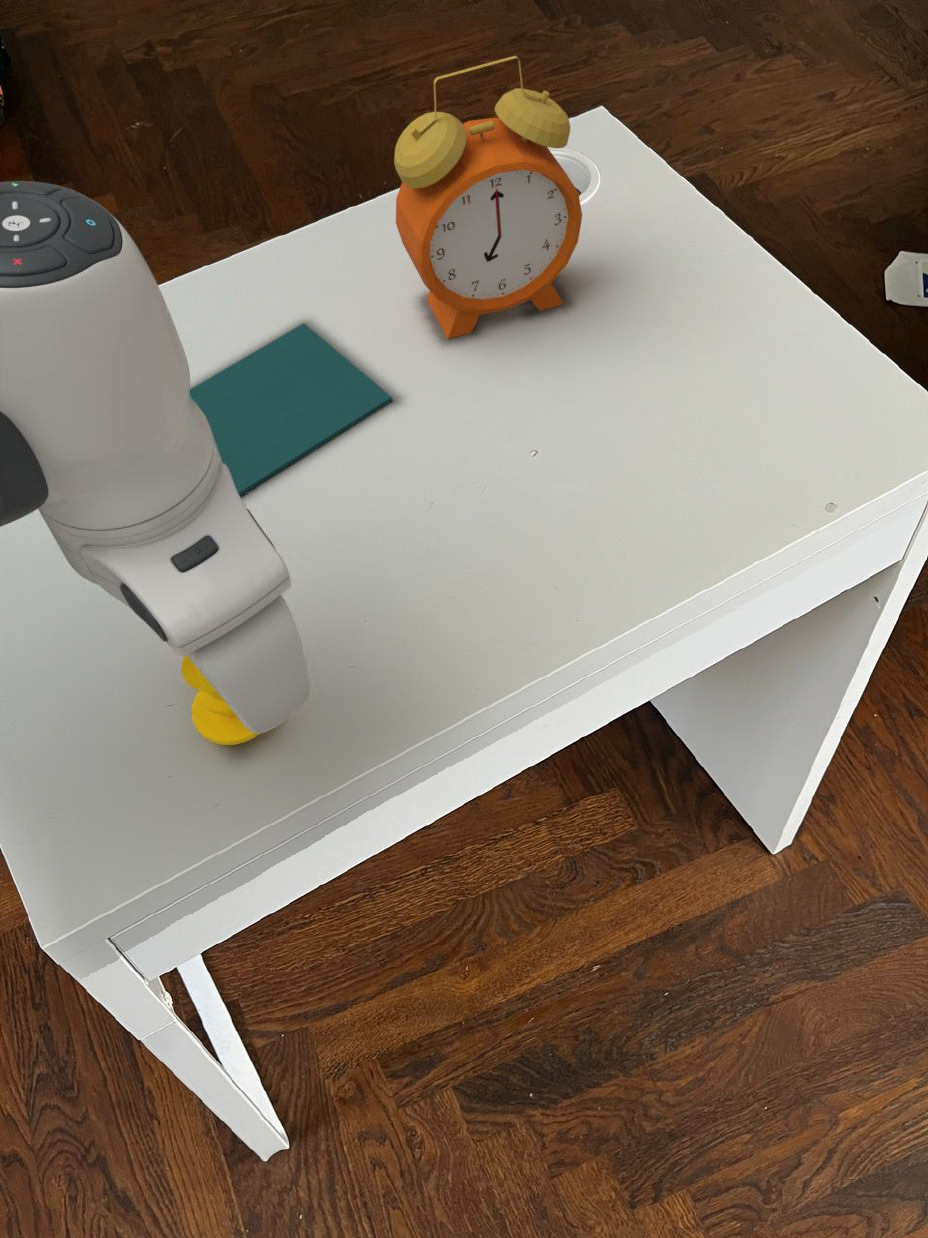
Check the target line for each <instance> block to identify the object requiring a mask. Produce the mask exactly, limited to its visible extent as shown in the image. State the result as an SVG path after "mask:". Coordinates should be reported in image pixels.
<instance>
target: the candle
mask: <svg viewBox="0 0 928 1238" xmlns="http://www.w3.org/2000/svg"><path fill="white" fill-rule="evenodd" d="M180 666H181V668H180V670H181V674H182V678H183V680H184V682H185V683H186V684H187V685H188V686H189V687H190V688H192V689H194V690H197V693H196V695H195V697H194V699H193V702H192V705H191V712H190V713H191V718H192V723H193V725H194V727H195V728H196V731H197V732H198V734H199V735H201V737H203V738H204V739H205V740H207V741H209V742H210V743H213V744H216V745H222V746H234V745H240V744H243V743H247V742H248V741H250V740H252V739H254V738H256V737H257V736H258V735H259V734H256V733H252V732H250V731H249V730H248V729H247V728H246V727H245V726H244V725H243V724H242V722H241V721H240V720H239V719H238V717H237V716H236V715H235V713H234V712H233V711H232V709H231V708H230V707H229V706H228V705H227V703H226V702H225V701H224V700H223V699H222V697H221V696H220V695H219V694H218V693H217V691H216V690H215V689H214V688H213V686H212V685H211V684H210V683H209V682H208V680H207V679H206V678H205V677H204V676H203V674H202V673H201V672H200V671H199V670H198V668H197V667H196V666H195V665H194V664H193V662H192V661H191V660H190V659H189V658H188V656H187V655H185V656H183V659H182V661H181V665H180Z"/></svg>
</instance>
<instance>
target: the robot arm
mask: <svg viewBox="0 0 928 1238" xmlns="http://www.w3.org/2000/svg"><path fill="white" fill-rule="evenodd" d="M182 343H183V342H182V341H181V338H180V335H179V333H178V330H177V328H176V325H175V323H174V319H173V317H172V314H171V313H170V309H169V308H168V305H167V302H166V300H165V298H164V295H163V293H162V291H161V289H160V287H159V285H158V283H157V280H156V278H155V276H154V274H153V272H152V270H151V269H150V266H149V265H148V263H147V261H146V260H145V258H144V256H143V254H142V252H141V251H140V249H139V247H138V246H137V244H136V243H135V241H134V239H133V238H132V236H131V235H130V234H129V233H128V231H127V230H126V229H125V227H124V226H123V224H122V223H121V222H120V221H119V220H118V219H117V218H116V217H115V216H114V215H113V214H112V213H111V212H110V211H108V210H107V209H106V208H105V207H103V205H101V204H100V203H98V202H97V201H95V200H93V199H92V198H90V197H88V196H87V195H84V194H82V193H81V192H79V191H76V190H74V189H71V188H69V187H66V186H61V185H58V184H54V183H49V182H43V181H30V180H12V181H11V180H10V181H0V528H1V527H4V526H6V525H8V524H11V523H14V522H15V521H18V520H21V519H22V518H24V517H26V516H28V515H30V514H31V513H34V512H36V511H37V510H38V512H39V513H40V515H41V517H42V518H43V520H44V522H45V524H46V526H47V527H48V530H49V531H50V533H51V534H52V536H53V538H54V541H55V542H56V543H57V545H58V547H59V549H60V551H61V553H62V555H63V556H64V558H65V560H66V561H67V564H68V565H69V566H70V567H71V568H72V569H73V570H74V571H75V572H76V574H78V575H79V576H80V577H82V578H83V579H85V581H88V582H91V583H92V584H93V585H96V586H99V587H100V588H101V589H102V590H104V591H105V592H106V593H108V594H109V595H110V596H111V597H113V598H114V599H116V600H117V601H119V602H121V603H122V604H123V605H125V606H127V607H128V608H129V609H130V610H131V611H133V612H134V614H135V615H136V616H138V618H140V619H141V620H142V621H143V622H144V623H145V624H146V625H147V626H149V628H151V630H152V631H153V632H154V633H155V634H156V635H157V636H158V637H159V639H160V640H162V641H163V642H164V643H166V644H167V645H168V646H169V647H170V648H171V650H172V651H173V652H174V653H175V654H177V655H178V656H181V657H184V656H185V655H187V656H188V658H189V659H190V660H191V661H192V662H193V664H194V665H195V666H196V667H197V668H198V670H199V671H200V672H201V673H202V674H203V676H204V677H205V678H206V679H207V680H208V682H209V683H210V684H211V685H212V686H213V688H214V689H215V690H216V691H217V693H218V694H219V695H220V696H221V697H222V699H223V700H224V701H225V702H226V703H227V705H228V706H229V707H230V708H231V709H232V711H233V712H234V713H235V715H236V716H237V717H238V719H239V720H240V721H241V722H242V724H243V725H244V726H245V727H246V728H247V729H248V730H249V731H250V732H252V733H256V734H258V735H260V734H264V733H267V732H270V730H271V731H272V729H274V728H276V727H279V725H281V724H282V723H284V722H285V721H287V720H288V719H290V718H291V717H292V716H294V715H295V714H296V713H298V712H299V711H300V710H301V709H302V708H303V707H304V706H305V705H307V703H308V702H309V701H310V699H311V698H312V697H311V696H312V692H313V690H312V689H313V687H312V681H311V675H310V671H309V667H308V662H307V659H306V655H305V651H304V647H303V643H302V640H301V636H300V633H299V630H298V627H297V624H296V622H295V619H294V616H293V614H292V612H291V609H290V608H289V605H288V603H287V602H286V600H285V598H284V596H283V593H285V592H286V591H288V590H289V588H291V585H292V580H291V576H290V572H289V569H288V567H287V564H286V562H285V560H284V559H283V557H282V555H280V553H279V552H278V551H277V548H276V547H275V545H274V543H273V542H272V541H271V539H270V538H269V537H268V535H267V534H266V532H265V531H264V530H263V528H262V527H261V525H260V524H259V523H258V521H257V520H256V518H255V517H254V516H253V513H252V512H251V511H250V509H248V508H247V507H246V505H245V503H244V502H243V500H242V498H241V496H239V494H238V492H237V489H236V487H235V484H234V481H233V479H232V476H231V473H230V471H229V469H228V467H227V466H226V464H224V463H223V462H222V459H221V456H220V453H219V450H218V448H217V445H216V442H215V439H214V436H213V433H212V430H211V427H210V425H209V423H208V421H207V419H206V417H205V415H204V413H203V412H202V411H201V409H200V408H199V406H198V405H197V404H196V403H195V402H194V401H193V399H192V398H191V396H190V389H191V373H190V366H189V362H188V358H187V355H186V352H185V349H184V347H183V344H182Z"/></svg>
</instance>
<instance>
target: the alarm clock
mask: <svg viewBox="0 0 928 1238" xmlns="http://www.w3.org/2000/svg"><path fill="white" fill-rule="evenodd" d="M515 59H517V64H518V68H519V69H518V71H519V72H518V73H519V81H520V88H514V89H512V90H510V91H508V92H506V93H503V95H502V96H501V98H499V99H498V101H497V103H496V104H495V107H494V112H495V114H496V116H497V117H490V118H482V119H481V118H479V119H473V120H468V121H466V122H462V121H460V120H459V119H458V118H456V117H455V116H454V115H452V114H450V113H448V112H444V111H438V110H437V90H436V89H437V85H436V84H437V82H438V81H439V80H443V79H446V78H450V77H453V76H457V75H461V74H465V73H468V72H472V71H475V70H479V69H482V68H486V67H491V66H493V65H498V64H500V63H505V62H508V61H511V60H515ZM549 96H550V93H549V91H547V90H543V91H542V93H541V92H538V91H536V90H531V89H527V88H524V83H523V75H522V65H521V60H520V58H519V57H518V56H517V55H513V56H509V57H505V58H501V59H497V60H495V61H490V62H486V63H483V64H480V65H475V66H472V67H468V68H465V69H462V70H458V71H453V72H450V73H447V74H442V75H440V76H436V77H435V78H434V80H433V101H434V104H433V105H434V111H432V112H426V113H424V114H422V115H420V116H418V117H417V118H416V119H414V120H413V121H411V122H410V123H409V124H408V125H407V126H406V128H405V129H404V130H403V131H402V133H401V135H400V136H399V137H398V140H397V142H396V145H395V147H394V158H393V159H394V161H393V163H394V168H395V171H396V173H397V175H398V177H399V179H400V181H401V184H400V187H399V189H398V193H397V195H396V199H395V201H396V202H395V225H396V228H397V231H398V233H399V236H400V240H401V243H402V245H403V247H404V249H405V251H406V252H407V254H408V256H409V258H410V260H411V262H412V264H413V266H414V268H415V270H416V271H417V273H418V275H419V277H420V279H421V281H422V282H423V284H424V286H425V287H426V288H427V289H428V290H429V291H428V294H427V297H426V301H427V303H428V305H429V307H430V309H431V310H432V312H433V314H434V316H435V319H436V320H437V322H438V324H439V326H440V328H441V330H442V332H443V333H444V335H445V338H446V339H447V340H452V339H454V338H457V337H461V336H463V335H468V334H471V333H473V331H474V329H475V327H476V324H477V322H478V320H479V318H480V316H481V315H483V314H491V313H497V312H503V311H508V310H510V309H512V308H515V307H517V306H519V305H522V304H523V303H526V302H528V301H531V303H532V304H533V305H534V306H535V307H536V309H538V311H539V312H542V311H546V310H549V309H552V308H556V307H559V306H561V305H564V301H563V300H562V298H561V297H560V295H559V294H558V292H557V290H556V289H555V288H554V285H553V282H554V281H555V280H556V278H557V277H558V276H559V275H560V274H561V273H562V272H563V270H564V269H565V267H566V266H568V264H569V262H570V259H571V257H572V256H573V253H574V251H575V249H576V247H577V245H578V243H579V238H580V231H581V226H582V221H583V220H582V219H583V211H582V206H581V201H580V196H579V195H580V194H579V191H578V189H577V188H576V186H575V185H574V183H573V181H572V180H571V179H570V177H569V175H568V174H567V172H566V171H565V170H564V168H563V167H562V165H561V164H560V163H559V161H558V160H557V158H556V156H554V154H553V153H552V152H551V150H550V149H549V148H552V149H563V148H565V147H566V146H567V145H568V142H569V138H570V133H571V123H570V119H569V116H568V114H567V113H566V112H565V110H564V109H563V108H561V106H560V105H559V104H558V103H557V102H556V101H554V100H553V99H551V98H550V97H549Z"/></svg>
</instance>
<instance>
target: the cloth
mask: <svg viewBox="0 0 928 1238" xmlns="http://www.w3.org/2000/svg"><path fill="white" fill-rule="evenodd" d="M190 396H191V398H192V399H193V401H194V402H195V403H196V404H197V405H198V406H199V408H200V409H201V411H202V412H203V413H204V415H205V417H206V419H207V421H208V423H209V425H210V427H211V430H212V433H213V436H214V439H215V442H216V445H217V448H218V450H219V453H220V456H221V459H222V462H223V463H224V464H226V466H227V467H228V469H229V471H230V473H231V476H232V479H233V481H234V484H235V487H236V489H237V492H238V494H239V496H240V497H241V496H243V495H245V494H247V492H250V491H251V490H252V489H255V487H257V486H259V485H261V484H262V483H263V482H265V481H267V480H268V479H270V478H271V477H273V476H274V475H275V476H276V475H277V474H278V473H279V472H281V471H283V470H284V469H286V468H288V467H289V466H291V465H292V464H294V463H296V462H297V461H298V460H300V459H302V458H303V457H305V456H306V455H308V454H310V453H311V452H313V451H314V450H316V449H318V448H319V447H321V446H322V445H324V444H326V443H327V442H329V441H330V440H332V439H333V438H335V437H338V435H340V434H342V433H343V432H345V431H347V430H348V429H349V428H351V427H352V426H354V425H356V424H357V423H359V422H360V421H362V420H364V419H365V418H367V417H369V416H370V415H371V414H373V413H374V412H376V411H378V410H380V409H381V408H383V407H384V406H386V405H388V404H389V403H390V402H393V397H392V396H391V395H390V394H388V393H387V392H386V391H385V390H384V389H383V388H381V387H380V386H379V385H378V384H377V383H375V381H373V380H372V379H371V378H370V377H368V376H367V375H366V374H365V373H364V372H363V371H361V370H360V369H359V368H358V367H357V366H356V365H354V364H353V363H352V362H351V361H350V360H348V359H347V358H346V357H345V356H344V355H342V354H341V352H339V351H338V350H337V349H335V348H334V347H333V346H332V345H330V344H329V343H328V342H327V341H326V340H325V339H323V338H322V337H321V336H320V335H319V334H317V333H316V332H315V331H314V330H313V329H312V328H310V327H309V326H308V325H307V324H306V323H304V322H303V323H301V324H299V325H298V326H296V327H294V328H293V329H291V330H289V331H287V332H286V333H284V334H283V335H281V336H279V337H277V338H275V339H274V340H272V341H270V342H269V343H267V344H266V345H263V346H262V347H260V348H259V349H257V350H255V351H254V352H252V353H250V354H248V355H247V356H245V357H243V358H241V359H239V360H238V361H236V362H235V363H233V364H231V365H229V366H228V367H225V368H224V369H222V370H221V371H219V372H218V373H216V374H213V376H211V377H209V378H207V379H205V380H204V381H202V382H201V383H199V384H196V385H195V386H194V387H192V388H190Z"/></svg>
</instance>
